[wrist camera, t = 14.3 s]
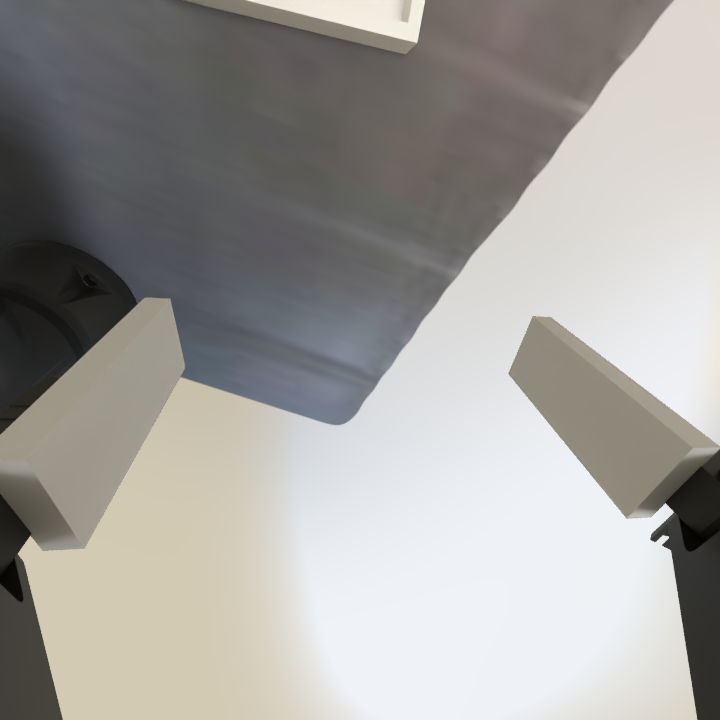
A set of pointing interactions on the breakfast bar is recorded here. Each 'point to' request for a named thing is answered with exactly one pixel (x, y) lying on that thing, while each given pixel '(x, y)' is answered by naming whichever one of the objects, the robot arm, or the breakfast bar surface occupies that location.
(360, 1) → the bin
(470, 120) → the breakfast bar surface
